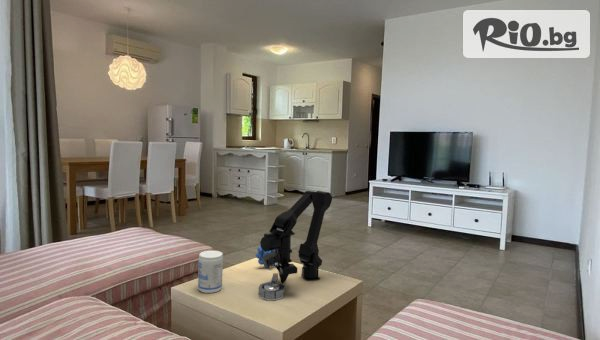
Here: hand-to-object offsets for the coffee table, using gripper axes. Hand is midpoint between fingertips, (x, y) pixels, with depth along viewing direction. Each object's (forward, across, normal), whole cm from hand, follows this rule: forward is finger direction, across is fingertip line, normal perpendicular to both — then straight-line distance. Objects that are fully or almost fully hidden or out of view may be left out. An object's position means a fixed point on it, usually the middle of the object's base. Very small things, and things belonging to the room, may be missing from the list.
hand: (282, 283), depth 155 cm
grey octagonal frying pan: (+1, +2, -5) cm, 5 cm away
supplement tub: (+2, -7, -28) cm, 29 cm away
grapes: (+2, -24, 0) cm, 25 cm away
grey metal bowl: (+2, +6, -6) cm, 9 cm away
